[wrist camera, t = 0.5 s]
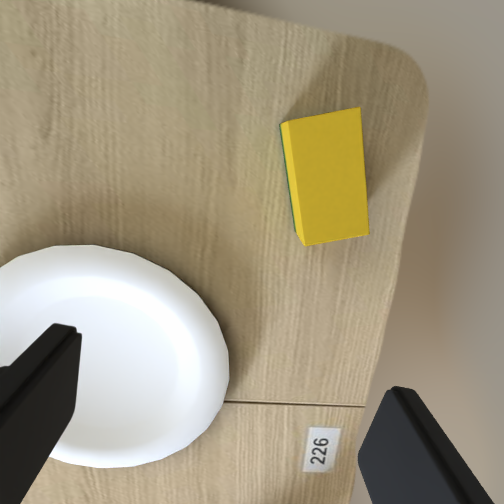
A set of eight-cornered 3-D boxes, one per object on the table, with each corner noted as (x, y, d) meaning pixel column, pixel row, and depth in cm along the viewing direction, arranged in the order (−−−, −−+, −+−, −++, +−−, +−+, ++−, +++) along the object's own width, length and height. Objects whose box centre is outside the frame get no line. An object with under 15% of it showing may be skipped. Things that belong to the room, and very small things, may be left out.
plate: (107, 489, 38) (101, 504, 37) (-87, 346, 32) (-105, 357, 30) (280, 373, 34) (282, 385, 32) (99, 180, 27) (90, 182, 26)
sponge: (279, 124, 27) (286, 120, 22) (340, 112, 26) (361, 106, 22) (294, 231, 29) (304, 246, 25) (350, 220, 29) (370, 234, 25)
